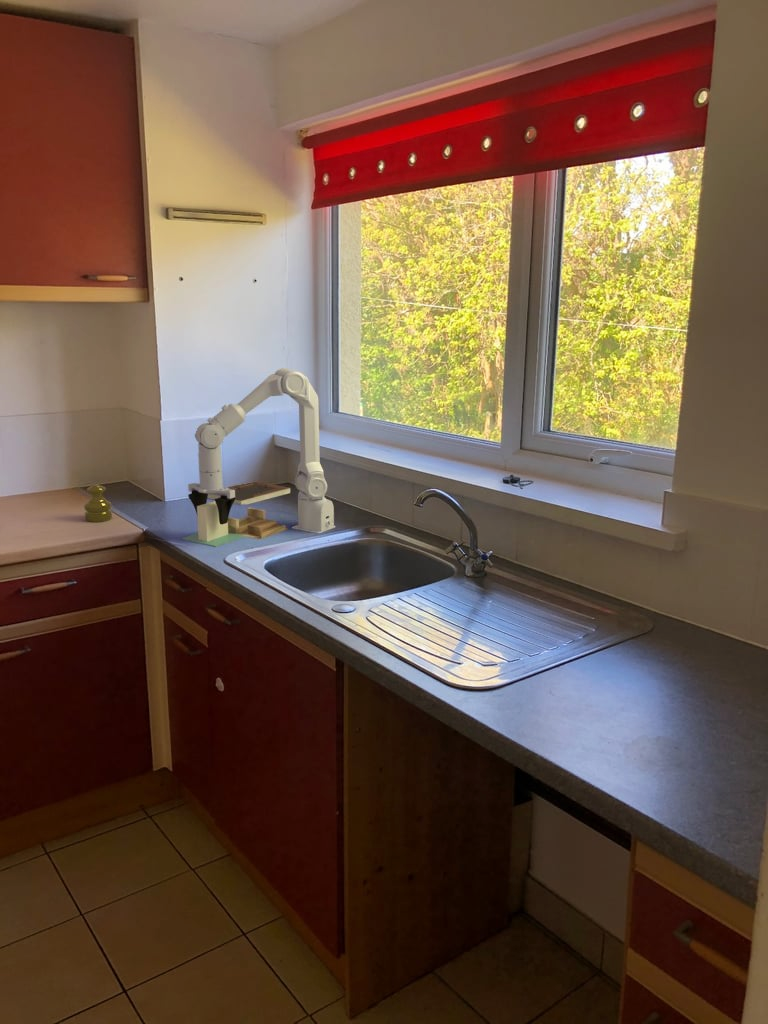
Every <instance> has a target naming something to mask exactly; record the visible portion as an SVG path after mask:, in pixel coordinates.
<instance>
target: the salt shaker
mask: <svg viewBox="0 0 768 1024" xmlns="http://www.w3.org/2000/svg"><path fill="white" fill-rule="evenodd" d="M86 491H87V492H88V493H90V494H91V497H90V498H89V500H88V501H87V502H85V503H84V504H83V509H84V510H85V511H84V519H85V521H87V522H91V523H102V522H107V521H110V520H111V519H112V518H113V513H112V512H113V510H112V509H111V508H112V503H111V502H110V501H109V500H107V499H106V498H104V496H103V493H104V492H105V491H106V487H105V486H103V485H100V484H97V483H96V484H92V485H91V486H90V487H88V488H86Z"/></svg>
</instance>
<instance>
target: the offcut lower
mask: <svg viewBox="0 0 768 1024" xmlns="http://www.w3.org/2000/svg"><path fill="white" fill-rule="evenodd" d="M277 525H278V526H275V527H273V528H270V529H267V530H264V531H261V532H257V531H252V530H248V534H251V535H256V536H260V533H263V532H265V531H268V530H271V529H274V528H277V527H279V526H281V525H280V524H277Z"/></svg>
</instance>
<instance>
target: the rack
mask: <svg viewBox="0 0 768 1024" xmlns="http://www.w3.org/2000/svg"><path fill="white" fill-rule="evenodd" d="M246 515H247V516H246V517H243V518H235V517H229V516H228V532H229V533H234V534H239V535H243V536H245V537H247V538H252V539H256V540H262V539H264V538H265V539H266V538H267V537H271V536H273V535H276V534H279V533H280V532H284V531H287V530H288V528H287V527H286V524H283V525H280V526H279V527H277V528H274V529H271V530H268V531H265V532H263V533H260V536H256V535H251V534H248V526H247V525H250V524H253V523H256V522H259V521H262V520H265V519H267V517H266V516H267V514H266V510H265V509H260V508H253V507H247V508H246Z"/></svg>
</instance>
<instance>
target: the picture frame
mask: <svg viewBox="0 0 768 1024" xmlns="http://www.w3.org/2000/svg"><path fill="white" fill-rule="evenodd" d="M246 483H247V482H246ZM240 484H241V485H239V484H235V485H231V486H226V487H227V488H229V489H232V490H235V501H234V503H233V505H235V504H239V505H242V506H243V505H250V504H253V503H258V502H261V501H265V500H269V499H273V498H277V497H280V496H284V495H287V494H291V487H286V486H281V485H277V484H272V483H271V484H270V483H267V482H261V481H257V482H253V483H247V484H243V483H240ZM216 498H221V496H217V495H211V494H208V497H207V499H209V500H213V501H215V499H216Z"/></svg>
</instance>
